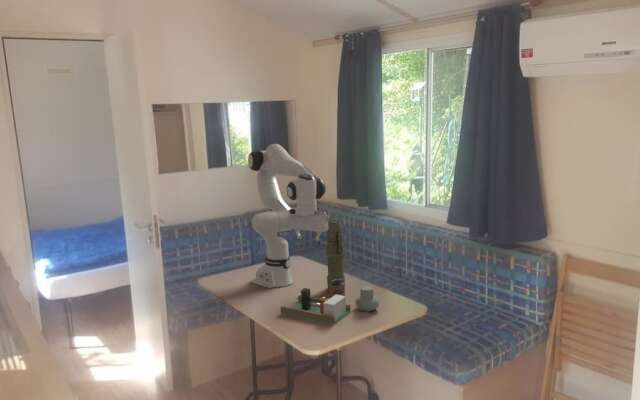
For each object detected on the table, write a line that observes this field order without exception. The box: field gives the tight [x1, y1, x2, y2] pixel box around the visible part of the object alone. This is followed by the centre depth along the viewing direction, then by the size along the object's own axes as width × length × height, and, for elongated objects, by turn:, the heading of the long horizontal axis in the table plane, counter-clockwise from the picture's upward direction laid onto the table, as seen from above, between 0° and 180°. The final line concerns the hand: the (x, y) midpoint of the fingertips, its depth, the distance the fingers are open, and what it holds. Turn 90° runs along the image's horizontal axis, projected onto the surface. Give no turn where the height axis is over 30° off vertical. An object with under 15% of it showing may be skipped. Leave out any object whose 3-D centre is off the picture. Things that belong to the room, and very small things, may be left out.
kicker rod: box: [300, 287, 327, 314], centre depth 230 cm, size 12×5×9 cm, turn 60°
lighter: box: [328, 279, 346, 300], centre depth 246 cm, size 8×3×10 cm, turn 105°
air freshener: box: [355, 285, 380, 312], centre depth 233 cm, size 11×8×10 cm
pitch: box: [280, 294, 351, 326], centre depth 230 cm, size 27×16×8 cm, turn 60°
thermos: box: [325, 220, 346, 292], centre depth 257 cm, size 9×12×35 cm
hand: (308, 239), depth 237 cm, fingers open, 8 cm apart
